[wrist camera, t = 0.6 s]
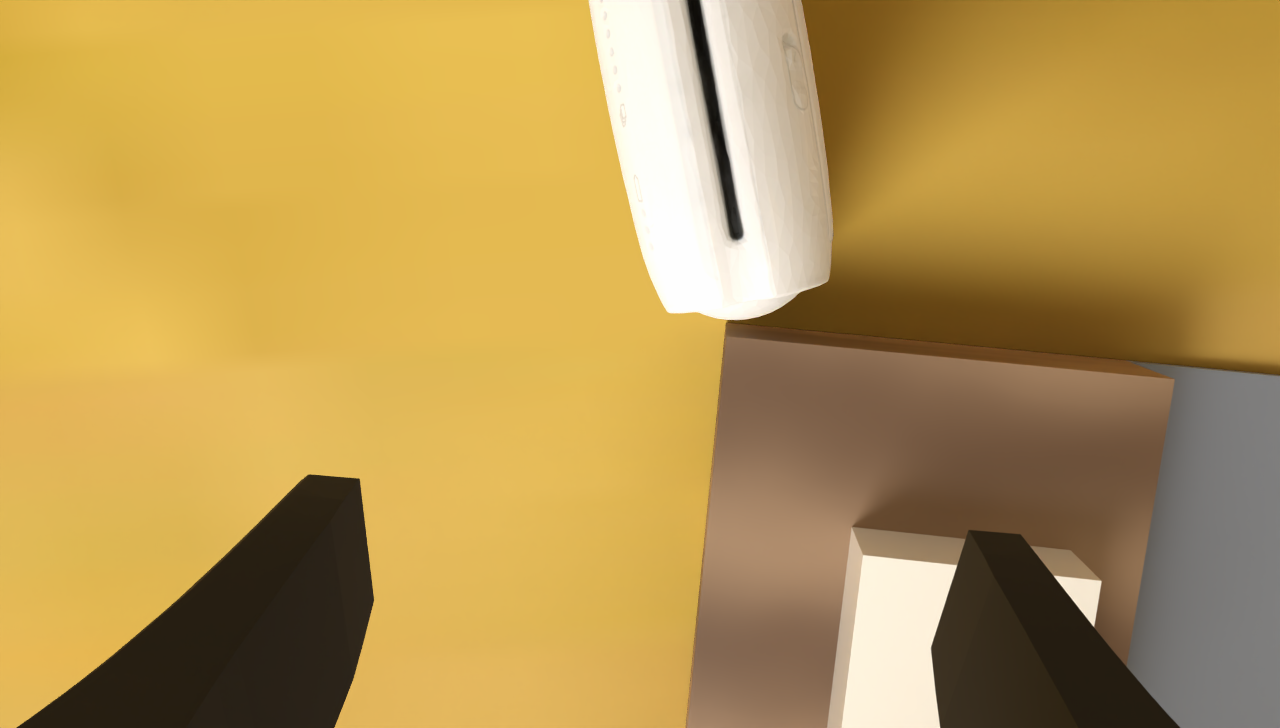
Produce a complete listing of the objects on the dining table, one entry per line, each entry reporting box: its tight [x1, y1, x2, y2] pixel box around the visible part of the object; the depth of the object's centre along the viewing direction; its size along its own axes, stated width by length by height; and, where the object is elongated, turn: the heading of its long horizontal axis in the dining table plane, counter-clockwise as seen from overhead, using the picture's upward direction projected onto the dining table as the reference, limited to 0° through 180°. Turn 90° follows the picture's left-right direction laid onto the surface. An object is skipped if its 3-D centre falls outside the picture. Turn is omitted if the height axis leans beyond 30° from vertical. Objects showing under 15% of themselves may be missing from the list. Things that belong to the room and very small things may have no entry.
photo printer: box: [589, 0, 833, 320], centre depth 25 cm, size 10×4×12 cm, turn 11°
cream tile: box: [827, 527, 1102, 728], centre depth 28 cm, size 8×6×2 cm
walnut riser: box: [686, 323, 1175, 728], centre depth 31 cm, size 18×12×4 cm, turn 175°
